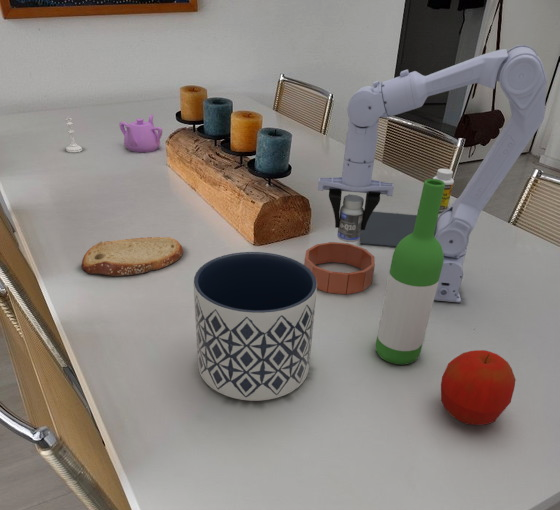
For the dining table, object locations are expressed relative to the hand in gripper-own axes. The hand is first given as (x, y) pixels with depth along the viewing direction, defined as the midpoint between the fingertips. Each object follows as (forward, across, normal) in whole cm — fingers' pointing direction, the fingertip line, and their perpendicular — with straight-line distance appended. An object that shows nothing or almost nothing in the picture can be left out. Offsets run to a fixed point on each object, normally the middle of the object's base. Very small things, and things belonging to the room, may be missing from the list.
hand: (350, 226), depth 111 cm
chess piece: (+10, +87, -66) cm, 110 cm away
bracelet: (+10, +1, +2) cm, 11 cm away
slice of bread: (+10, +45, +3) cm, 47 cm away
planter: (+10, +15, +36) cm, 41 cm away
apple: (+11, -19, +42) cm, 48 cm away
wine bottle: (+10, -10, +28) cm, 32 cm away
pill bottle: (+3, 0, 0) cm, 3 cm away
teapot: (+10, +67, -74) cm, 100 cm away
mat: (+10, -14, -25) cm, 30 cm away
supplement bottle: (+10, -25, -42) cm, 49 cm away
